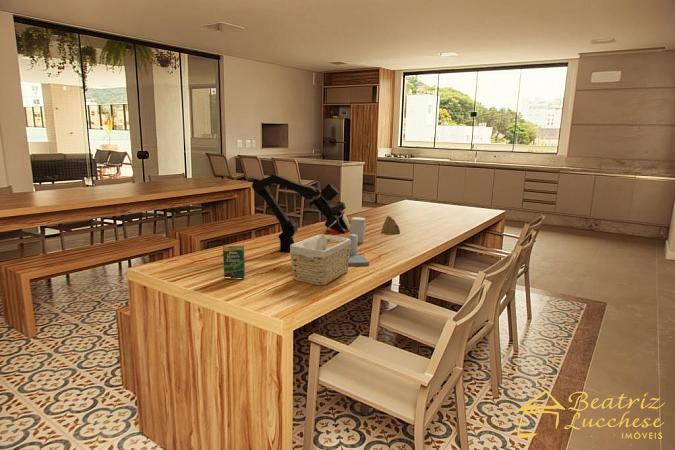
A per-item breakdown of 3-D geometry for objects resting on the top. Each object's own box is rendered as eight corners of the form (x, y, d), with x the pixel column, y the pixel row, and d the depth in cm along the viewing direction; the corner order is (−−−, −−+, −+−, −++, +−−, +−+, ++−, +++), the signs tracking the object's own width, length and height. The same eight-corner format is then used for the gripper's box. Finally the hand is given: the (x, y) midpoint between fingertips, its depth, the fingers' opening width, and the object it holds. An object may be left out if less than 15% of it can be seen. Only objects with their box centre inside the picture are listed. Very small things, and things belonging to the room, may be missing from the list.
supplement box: (363, 243, 235) (364, 220, 233) (349, 241, 237) (350, 219, 234) (365, 239, 243) (366, 217, 240) (351, 238, 244) (352, 216, 241)
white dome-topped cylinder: (348, 256, 208) (349, 236, 206) (346, 254, 212) (347, 234, 210) (357, 256, 208) (358, 236, 206) (355, 254, 213) (356, 234, 211)
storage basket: (323, 288, 164) (323, 250, 161) (287, 280, 172) (287, 244, 169) (351, 272, 185) (352, 238, 182) (318, 265, 192) (319, 233, 189)
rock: (404, 228, 264) (390, 224, 270) (402, 219, 258) (387, 214, 264) (395, 241, 259) (381, 236, 265) (392, 231, 253) (378, 227, 259)
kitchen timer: (336, 227, 273) (336, 203, 270) (354, 230, 265) (355, 206, 262) (322, 231, 262) (323, 206, 259) (341, 234, 254) (341, 209, 251)
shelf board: (338, 266, 192) (338, 262, 192) (333, 258, 204) (333, 255, 203) (368, 265, 194) (369, 262, 194) (362, 258, 206) (362, 255, 206)
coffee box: (223, 279, 170) (222, 246, 168) (224, 277, 173) (224, 245, 170) (243, 280, 170) (243, 247, 168) (245, 277, 173) (244, 245, 170)
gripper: (332, 199, 197) (355, 224, 197) (339, 193, 215) (360, 217, 215) (315, 215, 200) (338, 240, 200) (323, 208, 218) (344, 231, 218)
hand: (346, 231), depth 208 cm, fingers open, 9 cm apart
